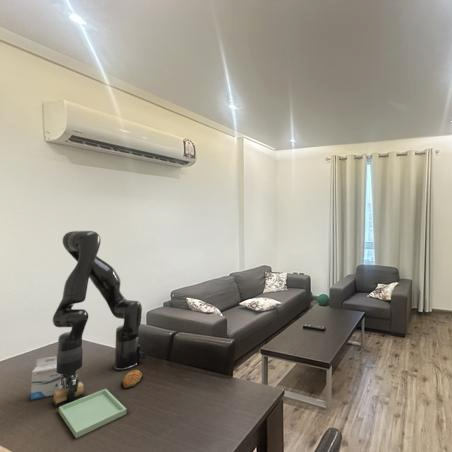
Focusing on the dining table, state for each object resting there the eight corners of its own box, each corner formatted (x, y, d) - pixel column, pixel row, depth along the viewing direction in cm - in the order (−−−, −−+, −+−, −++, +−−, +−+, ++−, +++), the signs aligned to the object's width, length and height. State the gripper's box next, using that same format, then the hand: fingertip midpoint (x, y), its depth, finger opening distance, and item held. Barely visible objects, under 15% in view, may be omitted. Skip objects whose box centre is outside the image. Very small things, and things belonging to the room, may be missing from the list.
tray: (105, 393, 115) (105, 388, 115) (126, 413, 103) (126, 408, 103) (58, 412, 103) (58, 407, 103) (75, 438, 91) (76, 432, 91)
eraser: (80, 393, 114) (80, 381, 114) (83, 396, 112) (83, 384, 112) (53, 403, 107) (53, 391, 107) (56, 407, 105) (56, 394, 105)
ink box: (30, 400, 108) (31, 364, 108) (34, 393, 113) (35, 359, 112) (59, 393, 113) (60, 359, 113) (63, 387, 117) (63, 354, 117)
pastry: (137, 386, 120) (138, 378, 120) (119, 390, 117) (119, 381, 117) (142, 375, 128) (142, 367, 128) (125, 378, 125) (125, 370, 125)
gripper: (87, 359, 109) (86, 401, 109) (76, 349, 117) (75, 388, 117) (62, 367, 102) (60, 411, 103) (52, 356, 110) (51, 397, 110)
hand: (68, 399), depth 110 cm, fingers open, 4 cm apart
